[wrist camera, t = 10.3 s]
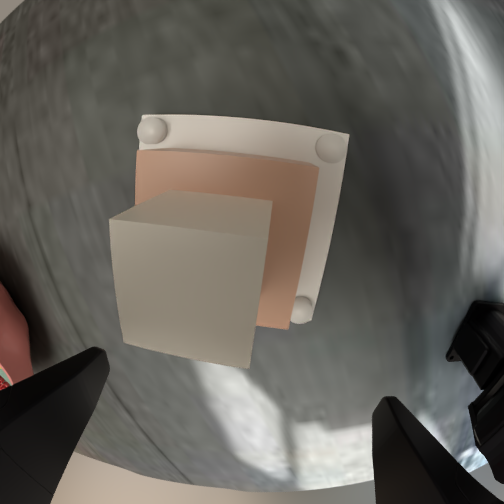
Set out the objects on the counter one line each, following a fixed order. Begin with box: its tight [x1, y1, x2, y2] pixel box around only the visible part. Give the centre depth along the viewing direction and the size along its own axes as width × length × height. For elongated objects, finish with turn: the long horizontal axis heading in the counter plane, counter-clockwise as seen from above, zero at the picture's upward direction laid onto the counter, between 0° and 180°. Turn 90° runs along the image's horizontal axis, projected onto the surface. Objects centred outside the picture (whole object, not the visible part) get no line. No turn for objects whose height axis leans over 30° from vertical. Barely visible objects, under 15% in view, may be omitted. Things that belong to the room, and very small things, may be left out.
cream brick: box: [109, 190, 273, 369], centre depth 10 cm, size 4×4×5 cm
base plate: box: [135, 115, 349, 329], centre depth 15 cm, size 12×12×6 cm
